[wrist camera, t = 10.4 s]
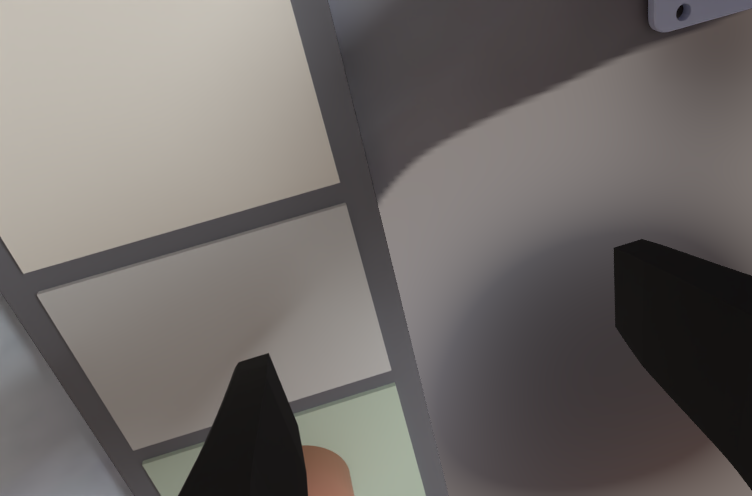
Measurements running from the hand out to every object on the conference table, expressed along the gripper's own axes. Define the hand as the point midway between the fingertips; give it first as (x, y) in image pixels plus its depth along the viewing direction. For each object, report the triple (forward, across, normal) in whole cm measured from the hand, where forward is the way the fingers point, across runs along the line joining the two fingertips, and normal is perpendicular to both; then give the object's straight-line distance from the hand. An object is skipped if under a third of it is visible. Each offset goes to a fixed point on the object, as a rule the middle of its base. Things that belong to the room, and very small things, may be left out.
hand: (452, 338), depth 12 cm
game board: (+9, +6, 0) cm, 11 cm away
